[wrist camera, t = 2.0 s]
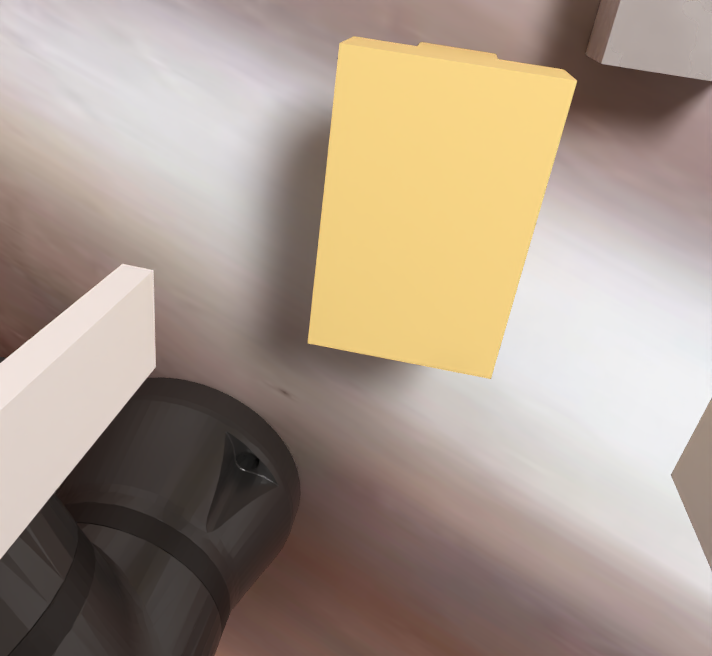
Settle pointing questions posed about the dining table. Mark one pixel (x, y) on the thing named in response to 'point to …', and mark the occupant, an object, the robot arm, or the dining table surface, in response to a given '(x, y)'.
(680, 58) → the rail
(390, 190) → the yellow bridge
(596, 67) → the dining table surface
